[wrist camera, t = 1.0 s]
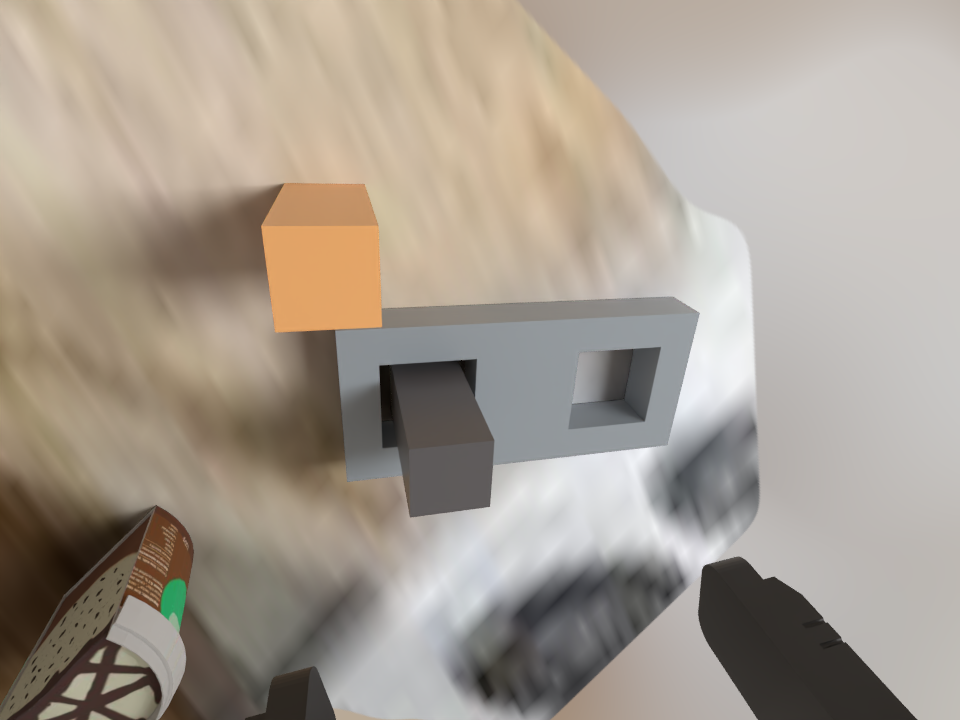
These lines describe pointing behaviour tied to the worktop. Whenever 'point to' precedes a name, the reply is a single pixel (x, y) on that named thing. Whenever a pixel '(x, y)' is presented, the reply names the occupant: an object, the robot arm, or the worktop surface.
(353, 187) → the orange plug
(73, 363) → the worktop surface
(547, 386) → the slate power strip
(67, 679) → the food container
